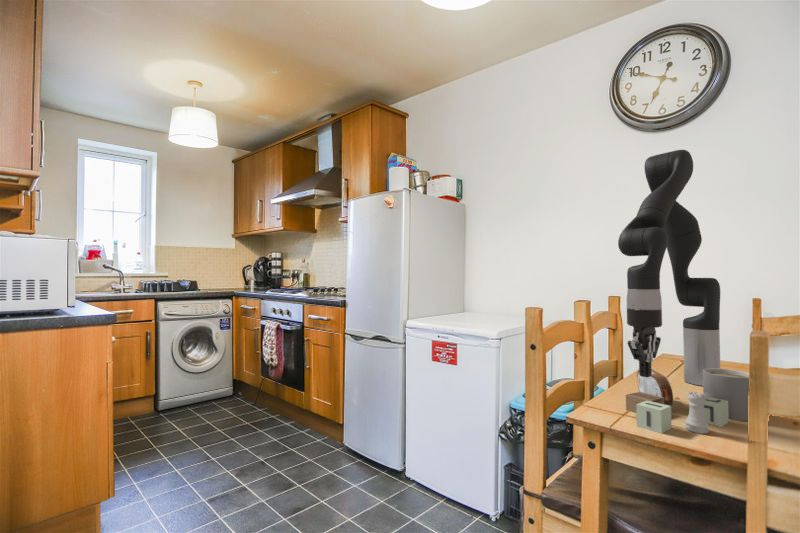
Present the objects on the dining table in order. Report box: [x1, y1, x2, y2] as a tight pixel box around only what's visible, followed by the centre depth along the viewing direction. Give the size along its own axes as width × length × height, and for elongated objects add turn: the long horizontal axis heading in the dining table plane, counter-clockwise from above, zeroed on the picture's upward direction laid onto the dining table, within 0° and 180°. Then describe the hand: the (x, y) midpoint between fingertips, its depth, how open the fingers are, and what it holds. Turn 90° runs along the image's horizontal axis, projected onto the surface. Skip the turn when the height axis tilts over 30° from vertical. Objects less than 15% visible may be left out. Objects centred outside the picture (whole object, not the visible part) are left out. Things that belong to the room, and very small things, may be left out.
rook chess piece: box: [684, 391, 711, 435], centre depth 87 cm, size 4×4×8 cm
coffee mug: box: [702, 367, 750, 422], centre depth 99 cm, size 13×10×10 cm
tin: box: [636, 368, 674, 407], centre depth 106 cm, size 15×3×8 cm, turn 171°
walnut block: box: [625, 391, 664, 414], centre depth 100 cm, size 6×6×4 cm
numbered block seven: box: [703, 396, 730, 428], centre depth 93 cm, size 5×5×5 cm
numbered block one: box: [635, 401, 672, 435], centre depth 89 cm, size 5×5×5 cm
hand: (645, 376), depth 100 cm, fingers closed
